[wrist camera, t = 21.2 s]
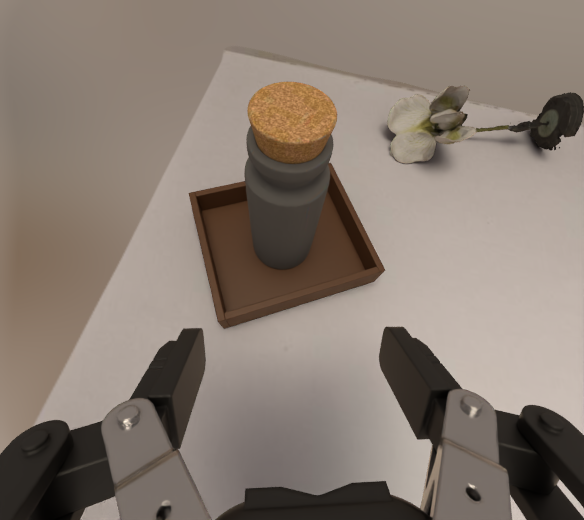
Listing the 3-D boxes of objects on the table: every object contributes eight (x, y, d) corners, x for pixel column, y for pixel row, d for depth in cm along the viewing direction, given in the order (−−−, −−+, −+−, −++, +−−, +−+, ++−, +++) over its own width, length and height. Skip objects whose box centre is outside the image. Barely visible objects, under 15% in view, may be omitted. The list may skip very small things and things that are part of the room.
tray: (223, 328, 24) (218, 322, 22) (196, 210, 29) (188, 192, 27) (374, 281, 27) (385, 270, 25) (326, 181, 32) (331, 162, 30)
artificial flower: (546, 175, 37) (634, 129, 27) (379, 178, 38) (405, 135, 28) (538, 115, 38) (618, 51, 29) (376, 120, 39) (400, 60, 30)
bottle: (283, 210, 29) (293, 61, 16) (322, 245, 28) (370, 115, 14) (241, 242, 28) (212, 102, 14) (280, 282, 26) (291, 170, 12)
